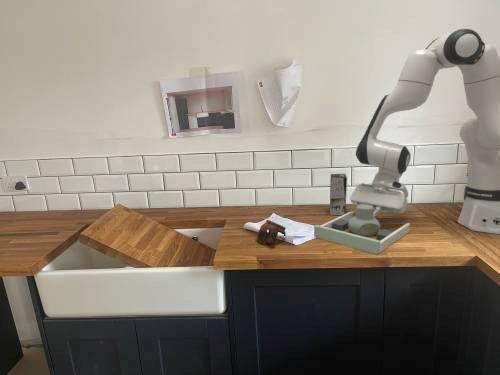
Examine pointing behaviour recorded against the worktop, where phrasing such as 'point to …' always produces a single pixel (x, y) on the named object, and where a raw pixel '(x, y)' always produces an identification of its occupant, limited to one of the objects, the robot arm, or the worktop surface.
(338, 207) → the coffee box
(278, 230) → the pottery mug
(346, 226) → the blocks
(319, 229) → the frame
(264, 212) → the worktop surface
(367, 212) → the air freshener
